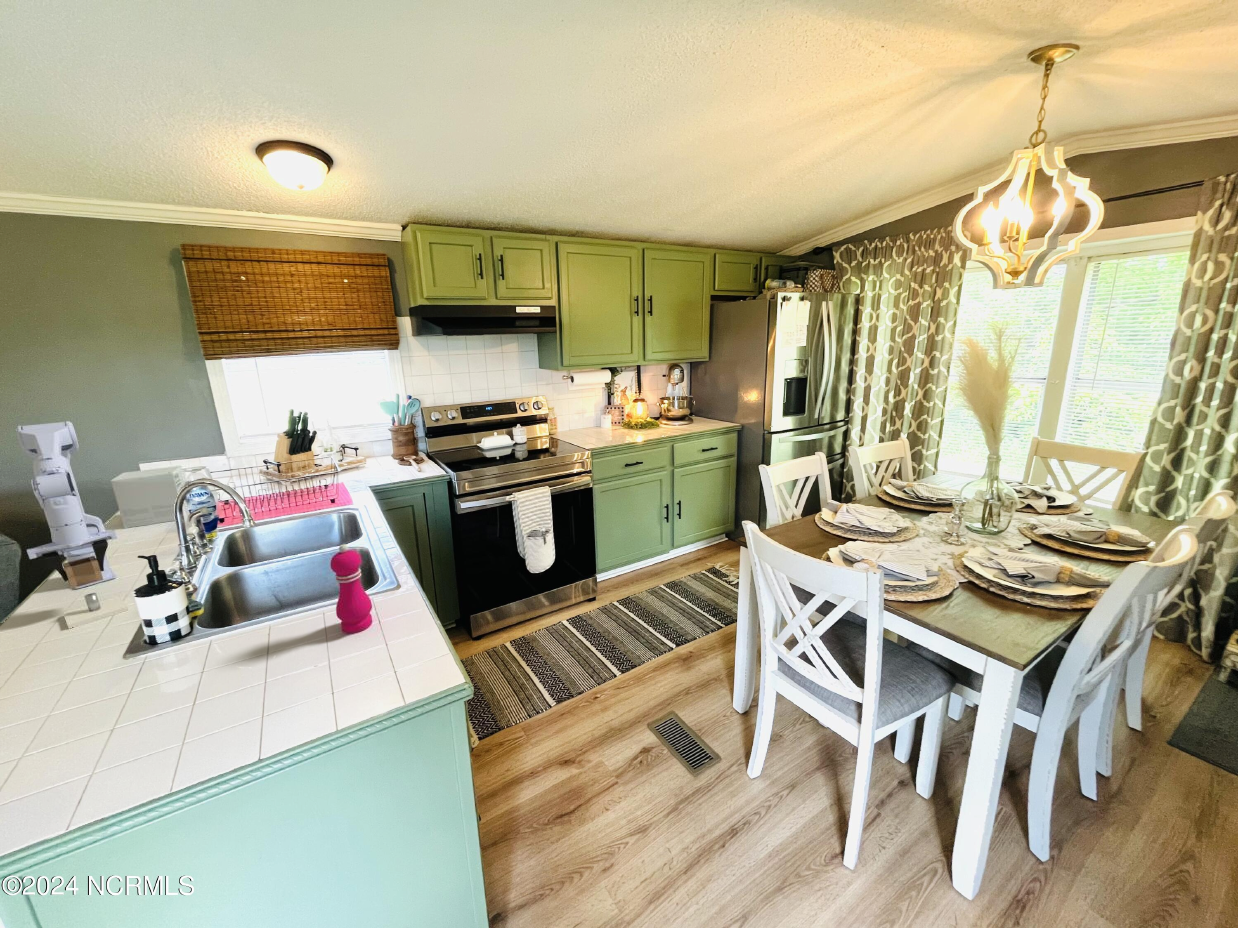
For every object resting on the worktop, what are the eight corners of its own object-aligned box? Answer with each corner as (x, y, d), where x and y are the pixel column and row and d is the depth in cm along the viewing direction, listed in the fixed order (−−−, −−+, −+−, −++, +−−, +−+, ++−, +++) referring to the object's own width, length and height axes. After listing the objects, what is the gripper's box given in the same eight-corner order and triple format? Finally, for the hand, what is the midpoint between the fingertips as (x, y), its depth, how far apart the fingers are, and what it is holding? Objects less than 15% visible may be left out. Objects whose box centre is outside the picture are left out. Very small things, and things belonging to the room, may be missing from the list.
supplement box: (194, 509, 195) (182, 464, 190) (185, 519, 184) (173, 472, 179) (135, 517, 187) (122, 471, 182) (123, 529, 176) (108, 480, 171)
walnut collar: (68, 582, 121) (62, 563, 120) (99, 573, 125) (94, 555, 124) (71, 588, 118) (65, 569, 117) (103, 579, 122) (97, 560, 121)
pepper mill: (360, 636, 109) (345, 553, 104) (331, 633, 111) (315, 550, 105) (381, 618, 116) (368, 539, 111) (354, 615, 117) (340, 537, 112)
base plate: (64, 616, 120) (57, 597, 119) (120, 598, 128) (115, 581, 126) (68, 629, 115) (62, 609, 113) (127, 609, 122) (122, 591, 121)
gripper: (21, 536, 110) (41, 591, 113) (112, 517, 121) (127, 567, 124) (19, 529, 114) (38, 583, 118) (107, 511, 125) (122, 560, 129)
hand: (84, 574), depth 121 cm, fingers closed on walnut collar, 5 cm apart
